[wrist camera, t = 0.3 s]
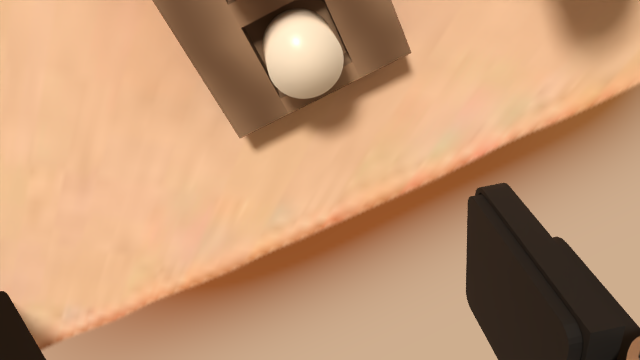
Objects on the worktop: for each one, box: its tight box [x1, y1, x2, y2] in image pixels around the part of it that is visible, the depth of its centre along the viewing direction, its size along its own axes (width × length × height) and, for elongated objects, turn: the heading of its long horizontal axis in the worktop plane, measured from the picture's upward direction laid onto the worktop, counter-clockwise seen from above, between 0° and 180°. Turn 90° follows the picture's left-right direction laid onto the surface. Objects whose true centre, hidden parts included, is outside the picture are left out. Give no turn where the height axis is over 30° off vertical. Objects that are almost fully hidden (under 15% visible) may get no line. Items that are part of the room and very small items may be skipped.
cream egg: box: [262, 8, 344, 99], centre depth 35 cm, size 5×5×4 cm
